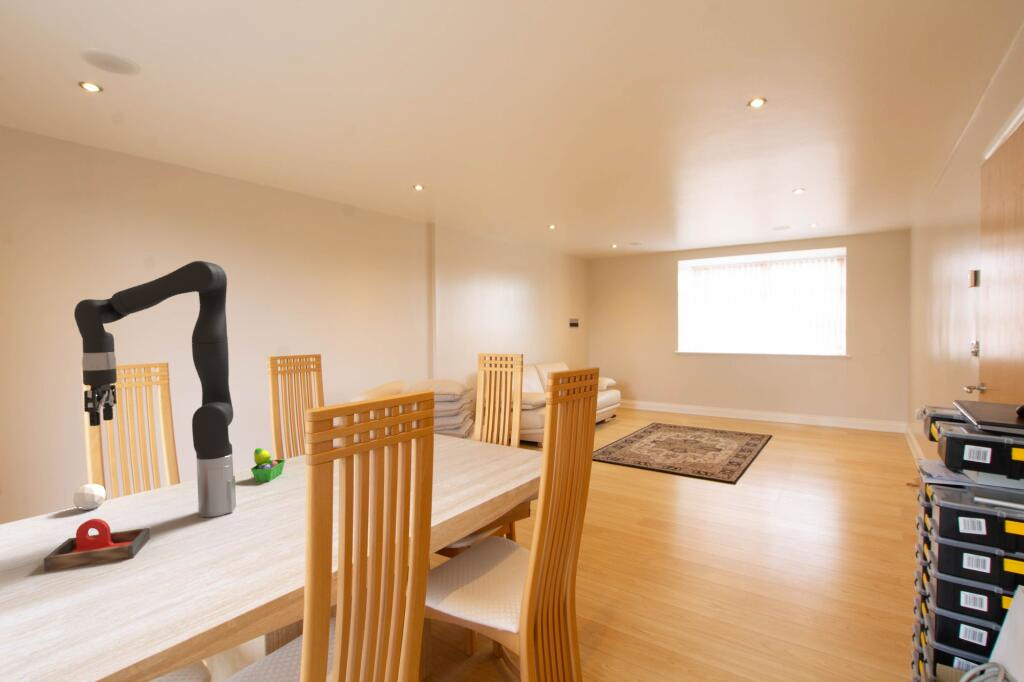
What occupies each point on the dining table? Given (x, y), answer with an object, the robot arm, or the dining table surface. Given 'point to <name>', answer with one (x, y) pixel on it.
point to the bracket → (101, 541)
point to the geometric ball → (89, 496)
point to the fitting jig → (97, 550)
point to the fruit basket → (266, 466)
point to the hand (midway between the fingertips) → (101, 422)
